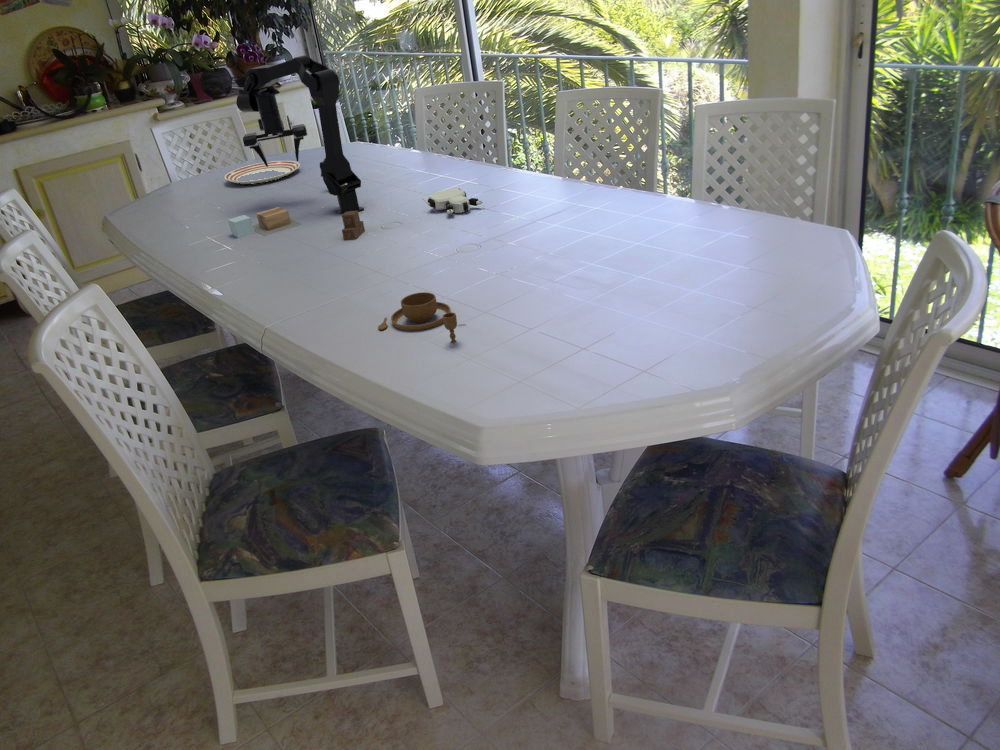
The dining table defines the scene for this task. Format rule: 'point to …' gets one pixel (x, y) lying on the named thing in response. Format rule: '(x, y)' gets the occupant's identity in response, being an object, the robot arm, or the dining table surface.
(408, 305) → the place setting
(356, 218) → the stack of crates
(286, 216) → the tan square block
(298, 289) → the dining table surface
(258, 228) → the mat
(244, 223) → the slate block
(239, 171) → the dinner plate
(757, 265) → the dining table surface
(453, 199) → the robot toy
